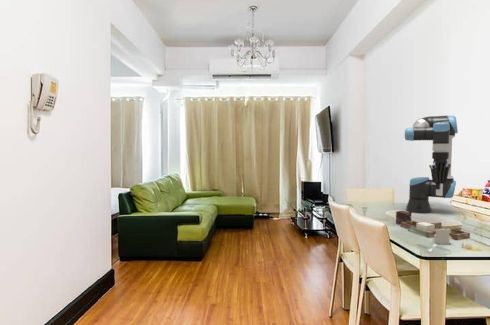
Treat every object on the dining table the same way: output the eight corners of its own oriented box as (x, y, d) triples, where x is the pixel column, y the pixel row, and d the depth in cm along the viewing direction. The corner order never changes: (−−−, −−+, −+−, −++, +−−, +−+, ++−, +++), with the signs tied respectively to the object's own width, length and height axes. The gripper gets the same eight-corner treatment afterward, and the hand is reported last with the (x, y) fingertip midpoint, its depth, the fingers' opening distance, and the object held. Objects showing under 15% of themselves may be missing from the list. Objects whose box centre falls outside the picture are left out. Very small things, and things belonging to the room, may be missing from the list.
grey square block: (433, 242, 153) (433, 227, 152) (449, 243, 151) (450, 228, 150) (435, 244, 149) (435, 229, 149) (452, 245, 147) (452, 230, 147)
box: (404, 225, 180) (405, 213, 180) (395, 223, 186) (395, 211, 185) (411, 224, 183) (411, 212, 183) (402, 222, 188) (402, 210, 188)
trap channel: (427, 223, 185) (427, 219, 185) (476, 236, 159) (476, 232, 158) (396, 227, 178) (396, 222, 178) (442, 242, 151) (442, 237, 151)
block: (424, 231, 170) (424, 222, 170) (434, 234, 165) (434, 224, 164) (416, 232, 168) (416, 223, 168) (425, 235, 163) (426, 225, 162)
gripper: (442, 151, 173) (441, 193, 175) (425, 151, 169) (424, 195, 171) (456, 151, 166) (454, 195, 168) (437, 152, 162) (436, 197, 164)
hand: (439, 195), depth 169 cm, fingers closed
